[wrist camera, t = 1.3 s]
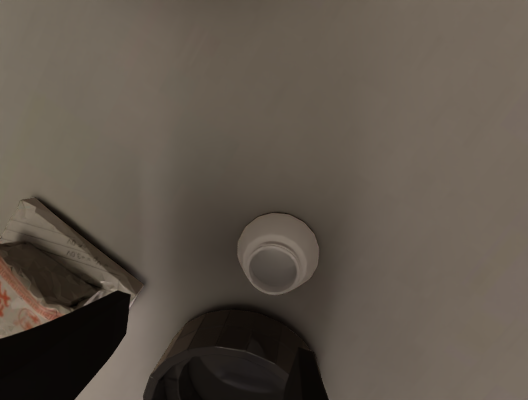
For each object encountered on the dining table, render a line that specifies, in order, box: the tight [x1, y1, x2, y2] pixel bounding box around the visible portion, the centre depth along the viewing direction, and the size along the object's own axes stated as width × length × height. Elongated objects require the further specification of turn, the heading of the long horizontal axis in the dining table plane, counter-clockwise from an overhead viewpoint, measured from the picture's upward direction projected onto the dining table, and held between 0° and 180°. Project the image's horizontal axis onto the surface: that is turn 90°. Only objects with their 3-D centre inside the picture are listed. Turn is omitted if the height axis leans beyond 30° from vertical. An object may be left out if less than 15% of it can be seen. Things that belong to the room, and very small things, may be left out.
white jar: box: [237, 213, 319, 295], centre depth 20 cm, size 5×3×5 cm
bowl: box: [143, 309, 321, 400], centre depth 22 cm, size 11×11×4 cm
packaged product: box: [0, 198, 144, 338], centre depth 24 cm, size 18×5×10 cm
